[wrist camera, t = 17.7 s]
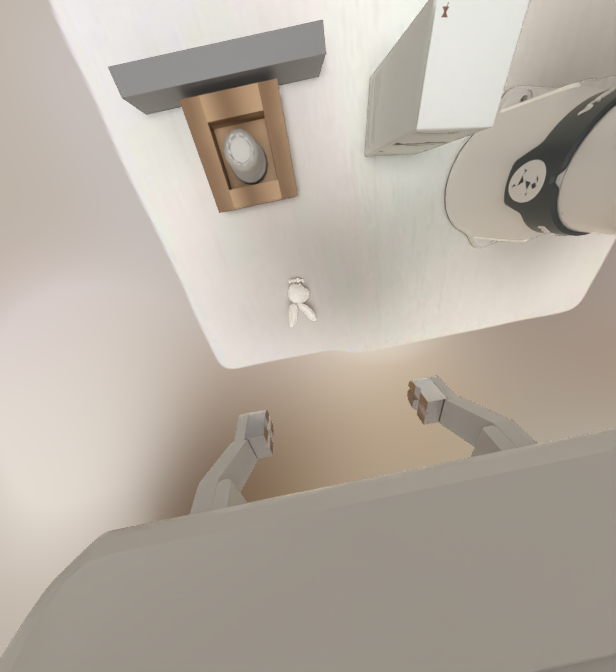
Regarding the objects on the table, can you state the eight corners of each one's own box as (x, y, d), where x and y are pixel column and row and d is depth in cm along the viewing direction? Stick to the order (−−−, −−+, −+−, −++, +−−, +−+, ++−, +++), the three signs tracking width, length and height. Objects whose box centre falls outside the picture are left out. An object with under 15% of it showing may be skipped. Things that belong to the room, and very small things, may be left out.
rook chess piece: (223, 148, 26) (204, 128, 19) (257, 132, 25) (250, 106, 19) (242, 190, 28) (230, 186, 21) (273, 177, 28) (272, 168, 21)
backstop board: (315, 49, 24) (322, 19, 20) (318, 76, 25) (325, 53, 21) (135, 89, 23) (107, 66, 20) (146, 114, 25) (121, 97, 21)
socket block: (277, 93, 25) (276, 78, 22) (295, 196, 30) (297, 195, 27) (191, 112, 25) (179, 99, 22) (225, 211, 30) (219, 212, 27)
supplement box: (363, 158, 29) (413, 131, 18) (369, 75, 25) (437, -20, 14) (415, 156, 30) (494, 129, 19) (429, 76, 26) (538, -16, 15)
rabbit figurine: (316, 275, 36) (322, 322, 37) (302, 280, 39) (308, 324, 40) (287, 275, 33) (295, 327, 33) (274, 280, 36) (281, 328, 36)
